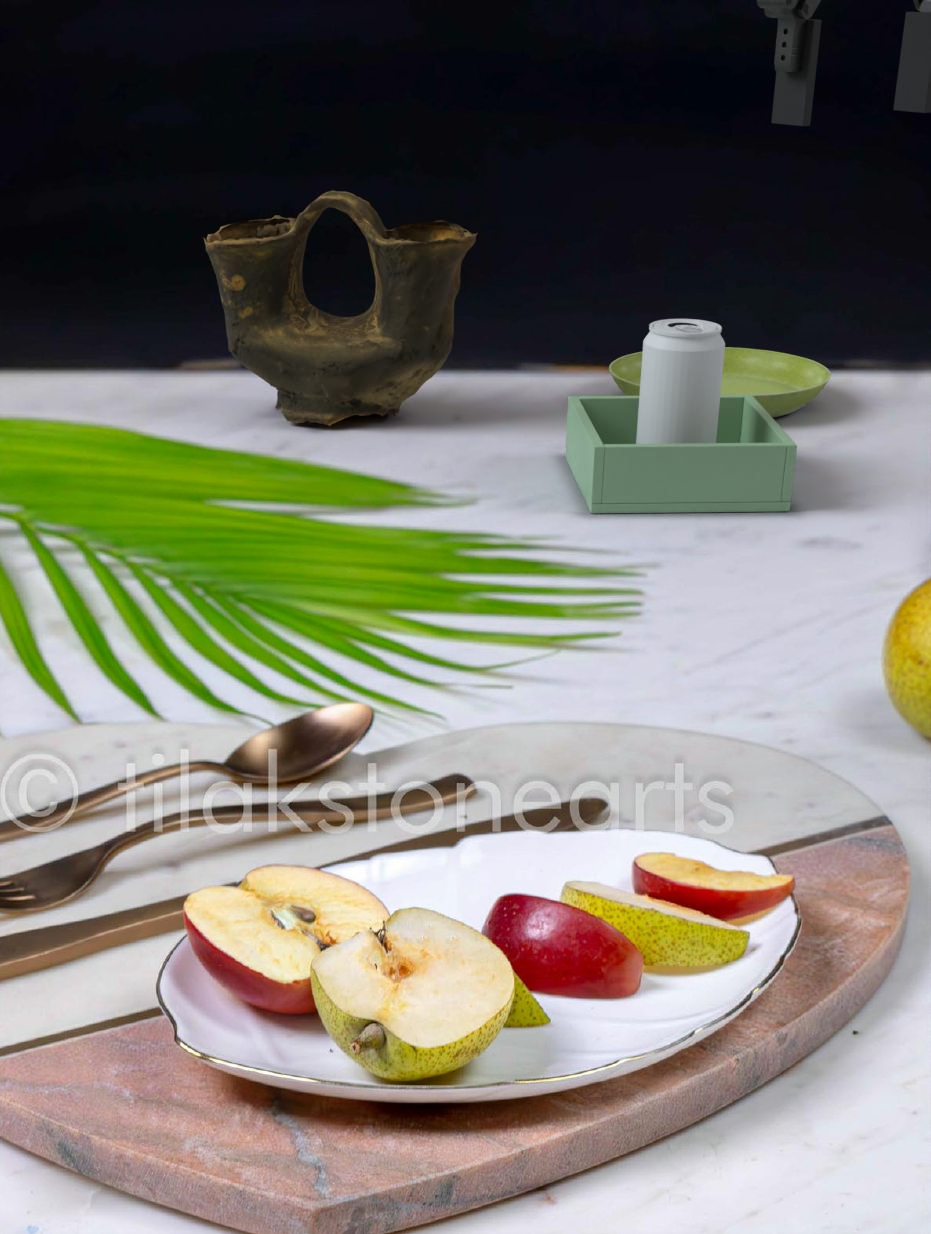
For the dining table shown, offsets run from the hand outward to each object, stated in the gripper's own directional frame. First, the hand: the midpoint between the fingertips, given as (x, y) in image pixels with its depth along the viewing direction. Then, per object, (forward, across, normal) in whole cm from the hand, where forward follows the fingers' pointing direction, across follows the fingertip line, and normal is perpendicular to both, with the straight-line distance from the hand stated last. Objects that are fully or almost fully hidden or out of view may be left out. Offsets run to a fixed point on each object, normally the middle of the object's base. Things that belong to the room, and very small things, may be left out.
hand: (853, 118), depth 119 cm
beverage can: (+28, +2, -12) cm, 31 cm away
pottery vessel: (+29, +11, -46) cm, 55 cm away
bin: (+29, +2, -12) cm, 31 cm away
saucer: (+29, -20, -27) cm, 45 cm away
